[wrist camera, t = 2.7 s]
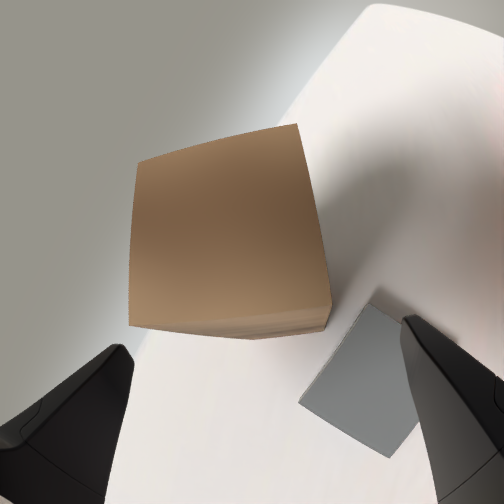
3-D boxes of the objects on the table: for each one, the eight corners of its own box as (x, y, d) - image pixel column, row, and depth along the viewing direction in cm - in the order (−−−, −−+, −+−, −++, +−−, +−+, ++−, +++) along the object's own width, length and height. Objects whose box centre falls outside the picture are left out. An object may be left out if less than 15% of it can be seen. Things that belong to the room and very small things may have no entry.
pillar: (323, 331, 18) (332, 304, 5) (252, 339, 18) (129, 325, 6) (314, 261, 19) (296, 123, 7) (246, 272, 20) (137, 162, 8)
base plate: (446, 360, 15) (456, 361, 14) (384, 450, 14) (389, 458, 13) (365, 306, 17) (368, 303, 16) (300, 398, 17) (298, 402, 15)
